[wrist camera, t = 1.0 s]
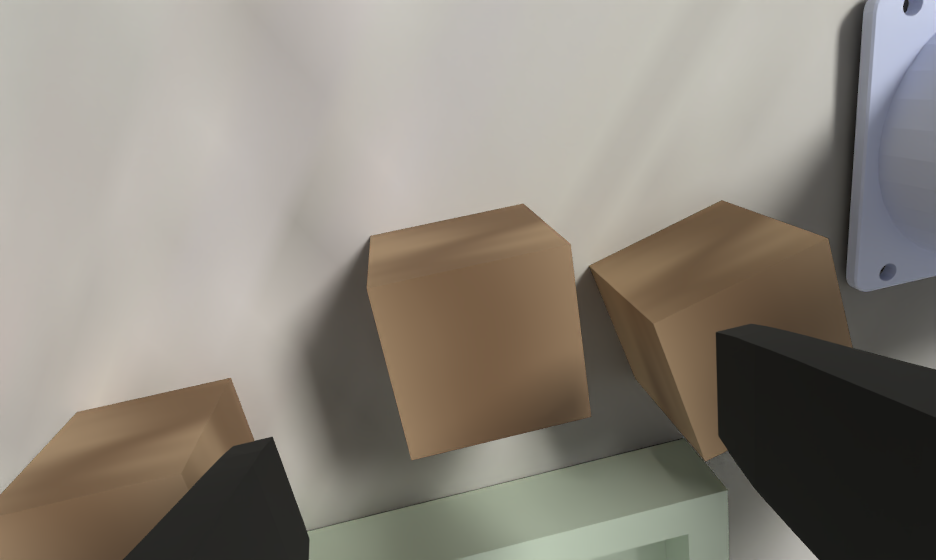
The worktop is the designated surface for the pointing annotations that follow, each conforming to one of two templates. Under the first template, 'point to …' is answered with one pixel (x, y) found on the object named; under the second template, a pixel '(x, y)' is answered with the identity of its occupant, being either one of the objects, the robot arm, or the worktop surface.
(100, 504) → the block
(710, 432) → the block
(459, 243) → the block
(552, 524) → the tray
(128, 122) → the worktop surface
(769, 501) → the robot arm
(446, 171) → the worktop surface
